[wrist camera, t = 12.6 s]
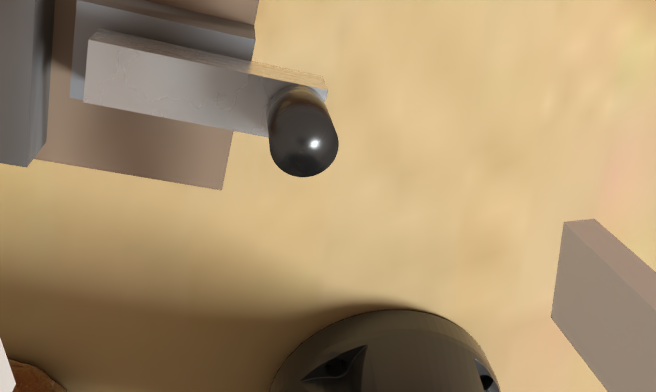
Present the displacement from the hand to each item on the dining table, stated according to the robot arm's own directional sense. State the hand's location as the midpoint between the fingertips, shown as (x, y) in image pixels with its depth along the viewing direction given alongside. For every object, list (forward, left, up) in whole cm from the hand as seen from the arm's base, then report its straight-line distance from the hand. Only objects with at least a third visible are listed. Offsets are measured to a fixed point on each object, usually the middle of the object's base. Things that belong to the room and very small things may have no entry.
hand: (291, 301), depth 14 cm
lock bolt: (+2, -1, -14) cm, 14 cm away
